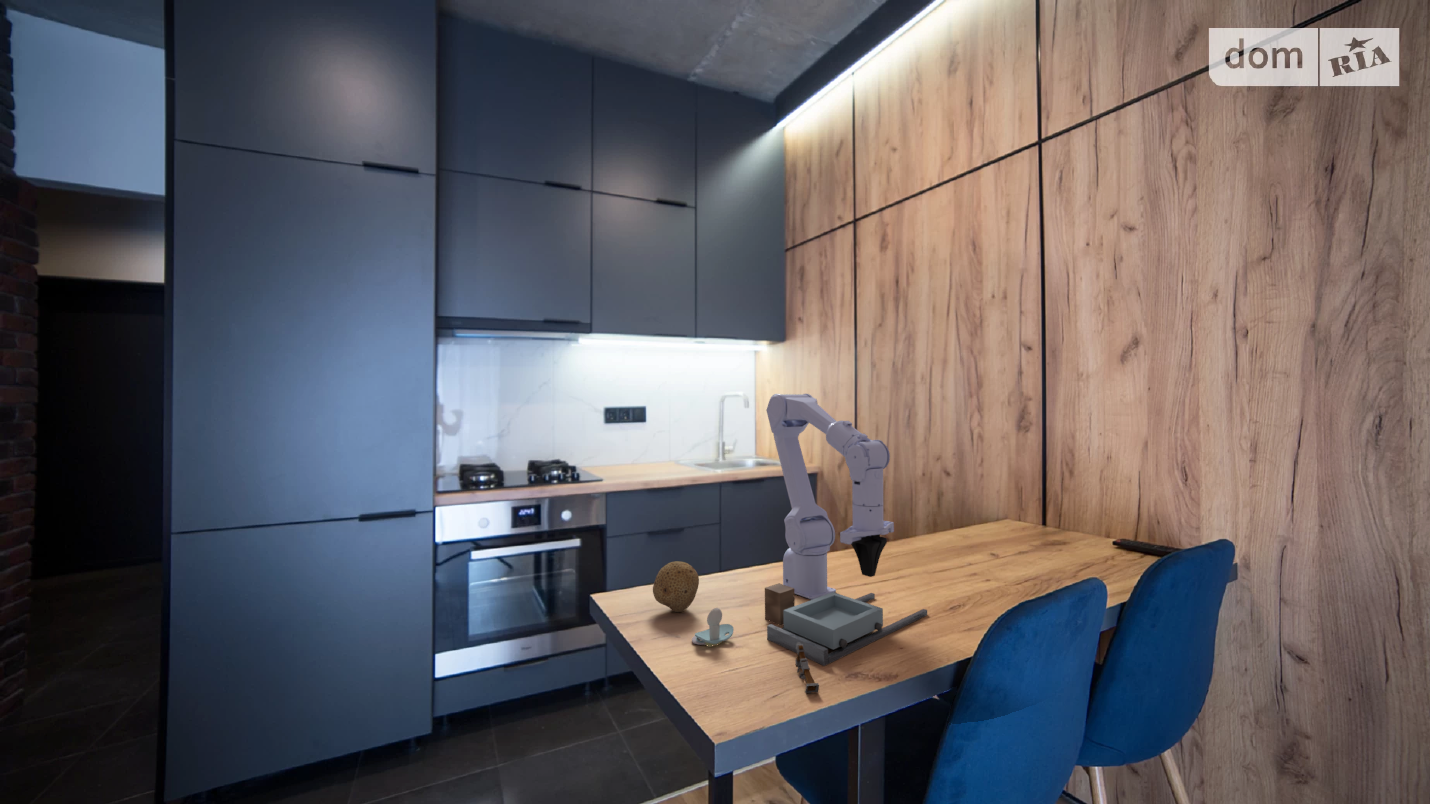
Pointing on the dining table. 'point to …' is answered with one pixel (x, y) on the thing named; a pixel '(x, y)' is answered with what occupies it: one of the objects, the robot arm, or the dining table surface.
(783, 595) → the walnut block
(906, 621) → the rail
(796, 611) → the cart
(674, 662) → the dining table surface
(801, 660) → the wooden post with brackets
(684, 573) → the natural sponge
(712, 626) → the pacifier
